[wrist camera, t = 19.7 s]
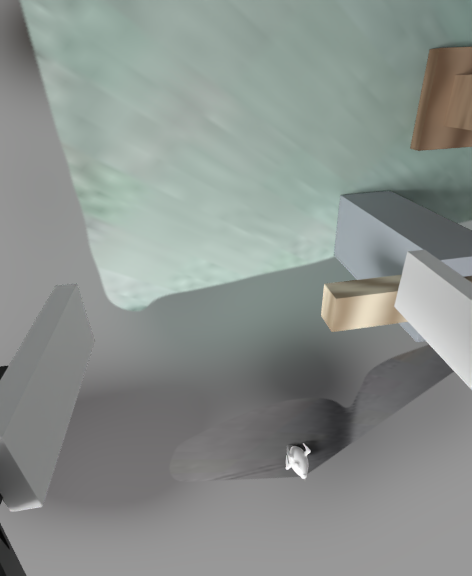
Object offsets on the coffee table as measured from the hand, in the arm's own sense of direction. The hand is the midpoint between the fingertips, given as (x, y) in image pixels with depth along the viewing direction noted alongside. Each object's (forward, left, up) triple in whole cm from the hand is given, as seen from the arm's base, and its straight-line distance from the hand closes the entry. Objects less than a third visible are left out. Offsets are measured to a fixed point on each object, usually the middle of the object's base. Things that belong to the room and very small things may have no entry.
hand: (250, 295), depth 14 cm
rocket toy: (+64, +28, -38) cm, 80 cm away
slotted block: (+8, +27, -38) cm, 47 cm away
